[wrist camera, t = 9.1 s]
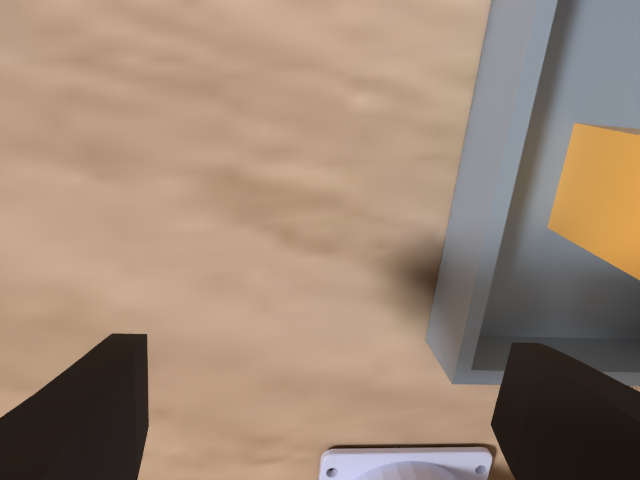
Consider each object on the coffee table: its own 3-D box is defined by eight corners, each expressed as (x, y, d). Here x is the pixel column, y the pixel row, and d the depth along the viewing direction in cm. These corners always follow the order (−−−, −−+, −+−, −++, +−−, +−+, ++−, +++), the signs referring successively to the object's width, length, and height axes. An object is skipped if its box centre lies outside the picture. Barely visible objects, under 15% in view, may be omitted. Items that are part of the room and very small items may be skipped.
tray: (640, 345, 22) (696, 386, 20) (425, 340, 21) (452, 384, 18) (775, -31, 17) (875, -48, 15) (506, -73, 16) (559, -102, 13)
